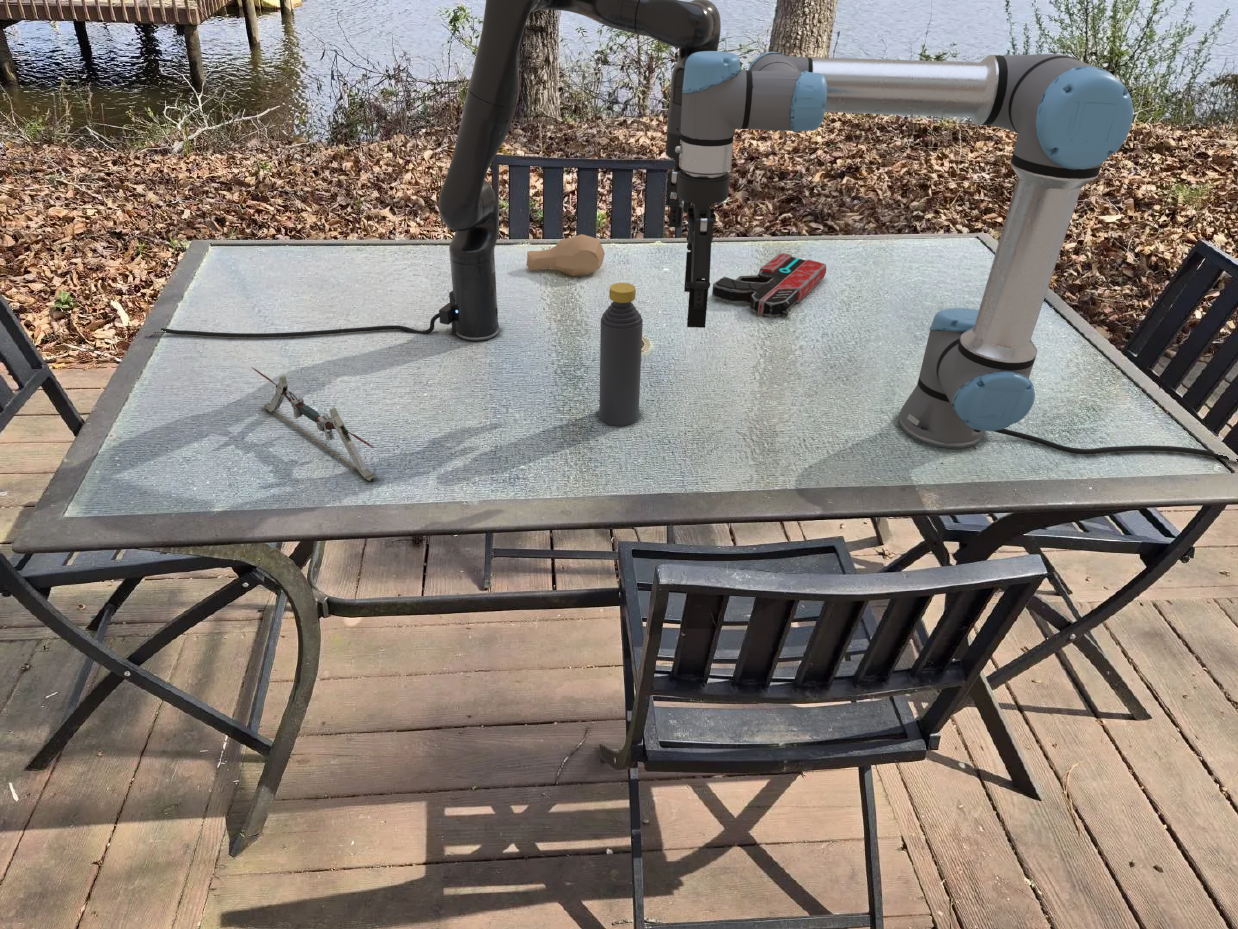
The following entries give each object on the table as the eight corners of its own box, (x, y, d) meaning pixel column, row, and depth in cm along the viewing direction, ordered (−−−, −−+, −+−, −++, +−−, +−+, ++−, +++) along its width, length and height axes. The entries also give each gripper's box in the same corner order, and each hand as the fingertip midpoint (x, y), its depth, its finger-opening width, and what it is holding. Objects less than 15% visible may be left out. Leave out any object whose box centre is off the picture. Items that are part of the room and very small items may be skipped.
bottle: (592, 411, 166) (593, 285, 152) (627, 403, 168) (631, 278, 154) (610, 429, 160) (612, 301, 146) (645, 421, 163) (651, 294, 149)
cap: (604, 295, 152) (605, 284, 151) (627, 291, 154) (628, 280, 153) (616, 304, 149) (616, 294, 148) (639, 300, 150) (640, 290, 149)
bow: (385, 483, 144) (378, 432, 138) (376, 488, 143) (368, 436, 137) (265, 401, 165) (254, 353, 160) (256, 404, 164) (245, 356, 158)
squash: (606, 279, 220) (601, 247, 214) (527, 286, 222) (521, 255, 215) (606, 257, 228) (602, 226, 222) (531, 264, 229) (524, 233, 223)
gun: (708, 284, 207) (784, 305, 199) (760, 245, 229) (831, 262, 221) (706, 302, 209) (781, 323, 201) (758, 261, 231) (828, 278, 223)
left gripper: (680, 118, 160) (675, 206, 169) (655, 135, 149) (650, 228, 158) (720, 122, 158) (712, 211, 167) (697, 139, 147) (690, 234, 156)
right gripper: (676, 147, 136) (669, 277, 148) (680, 195, 116) (671, 342, 127) (724, 149, 136) (713, 278, 148) (737, 197, 116) (723, 343, 127)
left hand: (682, 219), depth 163 cm, fingers open, 8 cm apart
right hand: (694, 308), depth 138 cm, fingers open, 13 cm apart
